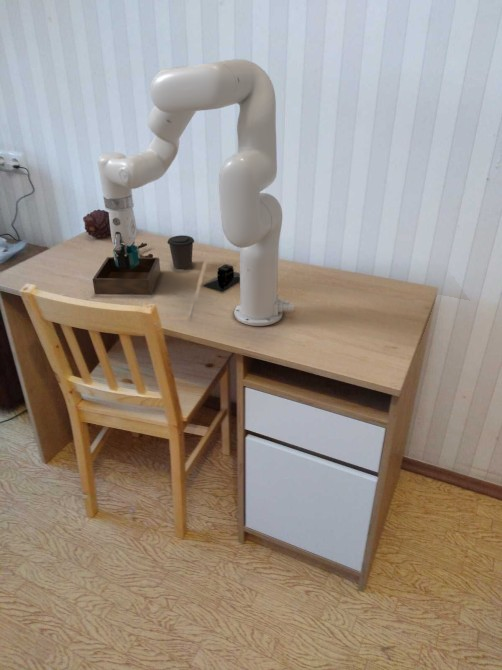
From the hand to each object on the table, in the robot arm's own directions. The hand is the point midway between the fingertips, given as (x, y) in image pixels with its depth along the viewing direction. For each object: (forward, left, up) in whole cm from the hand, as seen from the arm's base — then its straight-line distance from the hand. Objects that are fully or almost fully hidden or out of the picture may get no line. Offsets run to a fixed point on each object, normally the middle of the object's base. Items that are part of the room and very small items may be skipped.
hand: (127, 263), depth 152 cm
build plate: (-28, -3, -7) cm, 29 cm away
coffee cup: (-14, -12, -7) cm, 20 cm away
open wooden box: (0, 0, -7) cm, 7 cm away
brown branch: (+3, -19, -7) cm, 21 cm away
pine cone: (+19, -40, -7) cm, 45 cm away
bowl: (0, 0, -1) cm, 1 cm away
